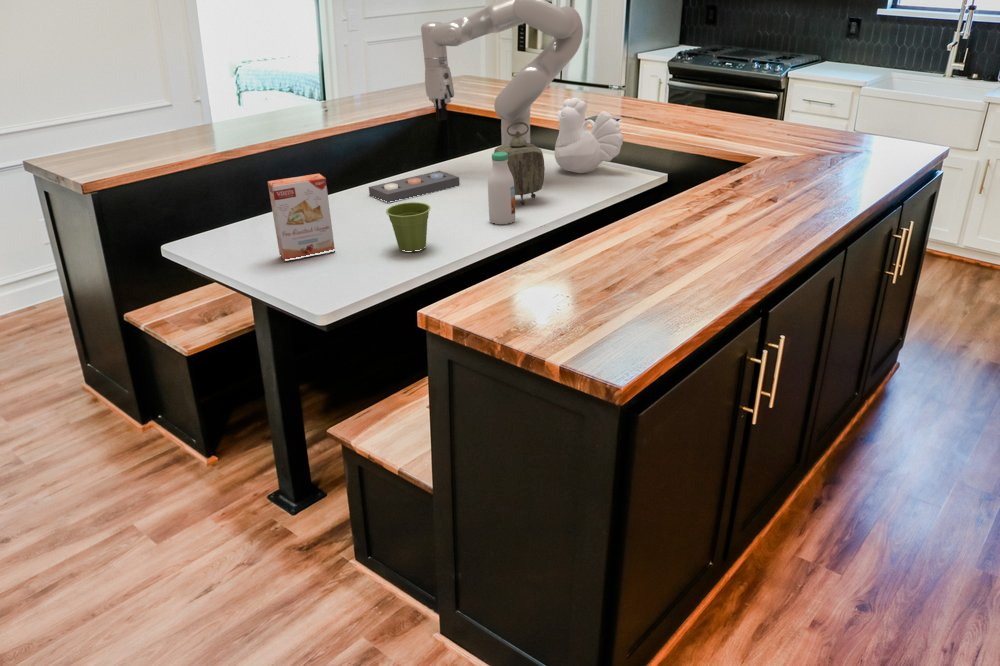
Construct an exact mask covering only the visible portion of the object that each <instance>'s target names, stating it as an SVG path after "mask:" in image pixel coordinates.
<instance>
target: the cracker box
mask: <svg viewBox="0 0 1000 666" xmlns="http://www.w3.org/2000/svg"><path fill="white" fill-rule="evenodd" d="M267 186H268V192H269V199H270V204H271V211H272V216H273V222H274V230H275V235H276V239H277V240H276V241H277V246H278V248H277V249H278V253H279V256H280V255H281V256H282V258H283V259H284V260H285V259H290V258H296V257H301V256H306V255H310V254H315V253H320V252H324V251H329V250H333V249H336V248H335V241H334V233H333V225H332V218H331V217H332V215H331V209H330V202H329V194H328V187H327V179H326V177H325V176H324V175H322V174H320V173H314V174H307V175H301V176H295V177H288V178H281V179H275V180H269V181H267ZM282 258H281V259H282ZM283 259H282V260H283ZM284 260H283V261H284Z"/></svg>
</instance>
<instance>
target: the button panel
mask: <svg viewBox="0 0 1000 666" xmlns="http://www.w3.org/2000/svg"><path fill="white" fill-rule="evenodd" d="M432 173H443V178H439V179H432V178H430V174H432ZM411 178H420V179H421V183H418V184H414V185H411V184H408V179H411ZM390 183H395V184H398V188H397V189H393V190H386V189H384V185H386V184H390ZM459 185H460V176H457V175H454V174H451V173H448V172H446V171H445V172H444V171H441V170H434V171H431V172H427V173H422V174H418V175H415V176H410V177H406V178H401V179H398V180H397V179H396V180H392V181H388V182H384V183H379V184H374V185H372V186H368V194H369V196H370V195H371V196H374V197H376V198H379V199H382V200H385V201H387V202H390V201H395V200H399V199H404V200H406V199H405V198H408V199H410V198H409V197H412V198H414V197H413V196H416V197H418V196H417V195H420V196H423V195H422V194H424V195H427V194H426V193H428V194H432V193H436V192H440V191H443V189H444V190H447V189H446V188H449V189H452V188H451V187H453V188H456V187H455V186H457V187H460V186H461V185H460V186H459ZM439 190H440V191H439ZM435 191H436V192H435ZM431 192H432V193H431ZM371 196H370V197H371ZM374 197H373V198H374ZM376 198H375V199H376ZM379 199H378V200H379Z"/></svg>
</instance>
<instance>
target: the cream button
mask: <svg viewBox="0 0 1000 666" xmlns="http://www.w3.org/2000/svg"><path fill="white" fill-rule="evenodd" d="M397 188H398V184H395V183H390V184H386V185H384V189H386V190H393V189H397Z"/></svg>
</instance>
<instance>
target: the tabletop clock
mask: <svg viewBox="0 0 1000 666" xmlns="http://www.w3.org/2000/svg"><path fill="white" fill-rule="evenodd" d="M516 124H523V125H525V126H527V131H526V132H524V133H521V134H520V132H519V131H517V132H516V134H511V133H509V132H508V129H509V128H510V127H511V126H513V125H516ZM528 130H529V127H528V125H527V124H526V123H524V122H514V123H512V124H510V125H509V126H508V128H507V133H508V134H509V135H510V136H516V137H515V138H513V139H512V140H511V142H510V144H506V145H502V144H501V145H500V146H497V147H495V148H494V151H493V153H496V152H506V153H508V161H507V164H508V167H509V170H510V172H511V174H512V176H513V180H514V189H515V196H520V200H519V204H520V205H521V206H524V205H525V204H526V200H524V195H528V194H531V195H530V197H531V199H535V198H536V197H537V195H536V192H539V191H541V190H542V189H543V186H544V182H545V169H546V168H545V158H544V153H543V150H542V148H539V147H538V146H536V145H535V144H532V143H531V142H530V143H526V140H525V139H524V138H522V137H520V136H522V135H524V134H526V133H527V132H528Z"/></svg>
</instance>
